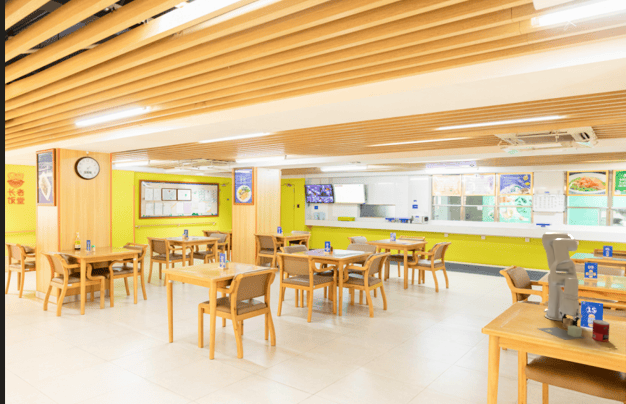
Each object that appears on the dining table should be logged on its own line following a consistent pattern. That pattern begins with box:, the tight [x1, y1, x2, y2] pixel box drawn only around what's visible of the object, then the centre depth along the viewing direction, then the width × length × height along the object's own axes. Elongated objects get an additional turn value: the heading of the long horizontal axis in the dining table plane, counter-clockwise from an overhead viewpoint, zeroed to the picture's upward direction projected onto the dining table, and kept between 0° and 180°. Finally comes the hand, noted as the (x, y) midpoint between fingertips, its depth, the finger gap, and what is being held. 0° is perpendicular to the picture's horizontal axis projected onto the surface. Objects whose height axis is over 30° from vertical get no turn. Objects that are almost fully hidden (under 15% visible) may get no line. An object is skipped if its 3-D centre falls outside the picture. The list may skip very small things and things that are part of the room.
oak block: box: [562, 317, 573, 330], centre depth 257 cm, size 5×5×6 cm
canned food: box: [591, 319, 610, 343], centre depth 237 cm, size 8×8×11 cm
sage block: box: [567, 325, 583, 337], centre depth 243 cm, size 5×5×5 cm
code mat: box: [538, 326, 586, 341], centre depth 246 cm, size 20×16×1 cm
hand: (569, 324), depth 257 cm, fingers open, 6 cm apart
